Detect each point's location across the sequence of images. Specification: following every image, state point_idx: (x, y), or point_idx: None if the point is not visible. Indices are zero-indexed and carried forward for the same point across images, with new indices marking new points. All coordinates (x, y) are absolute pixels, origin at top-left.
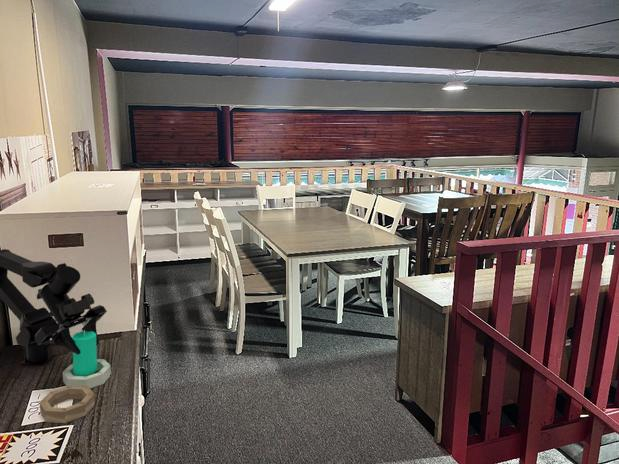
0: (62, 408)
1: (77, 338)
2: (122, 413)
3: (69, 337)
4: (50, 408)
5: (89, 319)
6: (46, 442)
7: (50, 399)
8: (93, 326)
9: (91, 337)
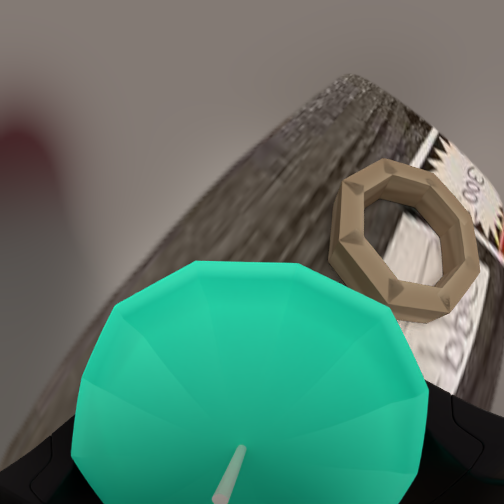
0: (436, 189)
1: (355, 459)
2: (298, 129)
3: (487, 443)
4: (461, 215)
5: None
6: (453, 174)
7: (452, 274)
8: (17, 489)
9: (216, 274)
